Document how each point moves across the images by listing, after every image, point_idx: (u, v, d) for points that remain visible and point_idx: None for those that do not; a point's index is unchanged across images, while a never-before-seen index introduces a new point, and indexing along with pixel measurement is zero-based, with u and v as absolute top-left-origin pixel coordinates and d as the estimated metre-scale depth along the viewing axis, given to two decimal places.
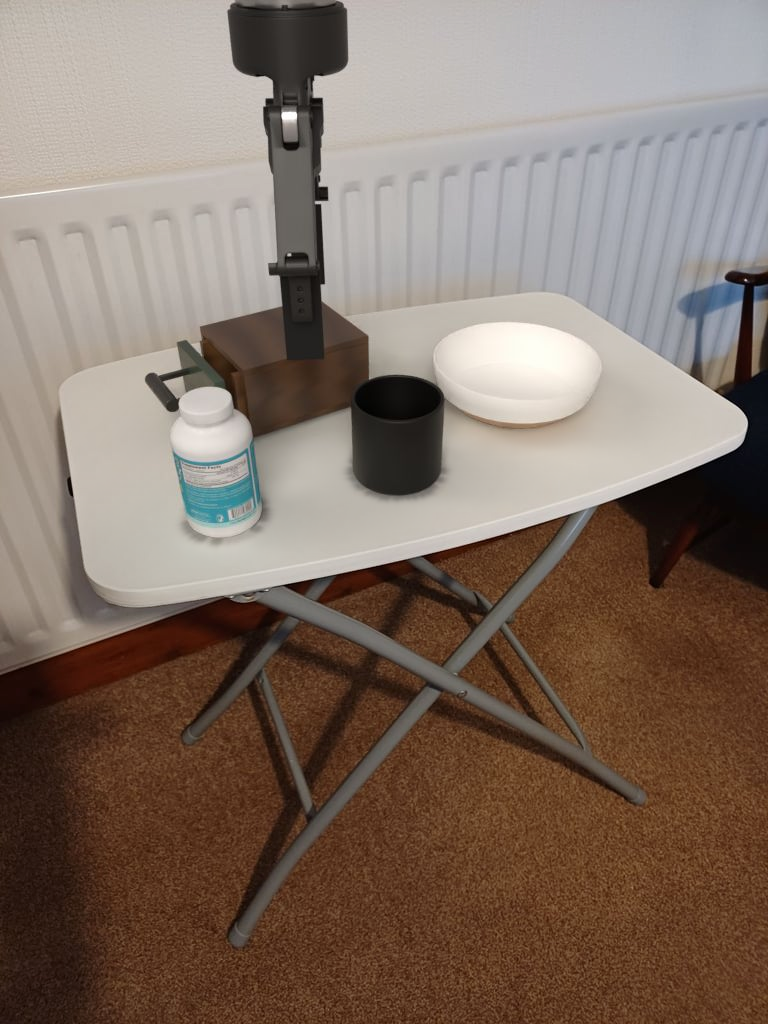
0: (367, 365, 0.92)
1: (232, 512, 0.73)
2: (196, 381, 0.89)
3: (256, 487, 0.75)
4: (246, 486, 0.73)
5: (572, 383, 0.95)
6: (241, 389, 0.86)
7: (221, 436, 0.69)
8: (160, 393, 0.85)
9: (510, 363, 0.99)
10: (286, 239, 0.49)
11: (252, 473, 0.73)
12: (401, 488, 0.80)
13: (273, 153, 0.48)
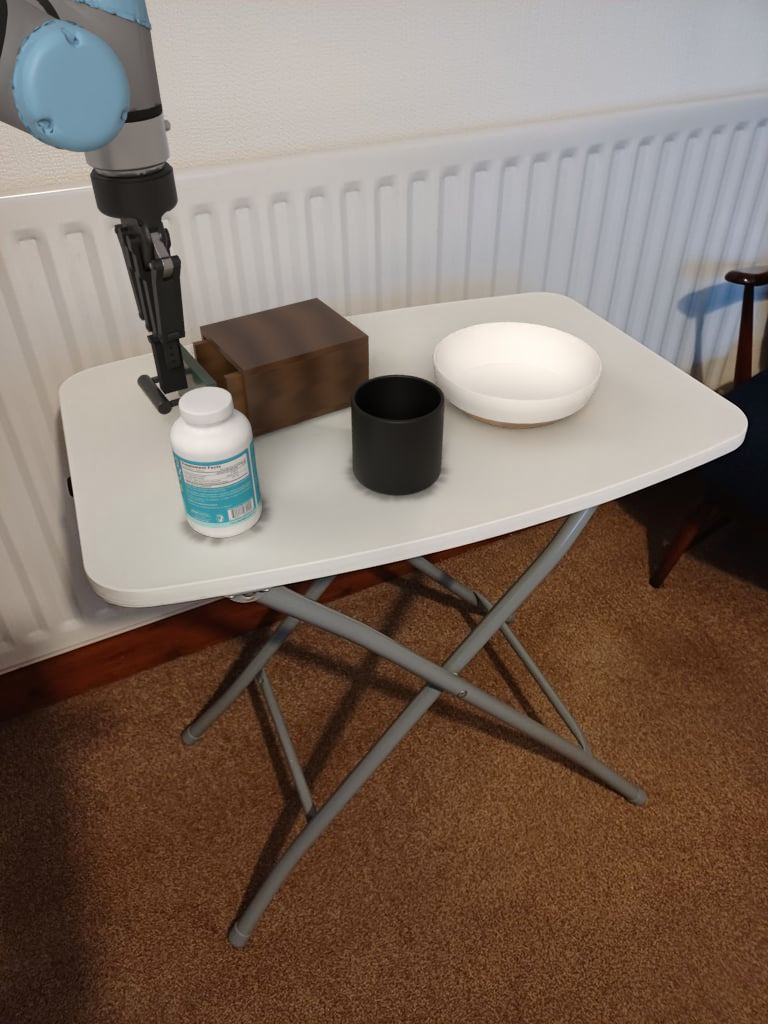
0: (367, 365, 0.92)
1: (232, 512, 0.73)
2: (189, 383, 0.89)
3: (256, 487, 0.75)
4: (246, 486, 0.73)
5: (572, 383, 0.95)
6: (234, 391, 0.86)
7: (221, 436, 0.69)
8: (152, 395, 0.85)
9: (510, 363, 0.99)
10: (167, 326, 0.79)
11: (252, 473, 0.73)
12: (401, 488, 0.80)
13: (157, 285, 0.75)
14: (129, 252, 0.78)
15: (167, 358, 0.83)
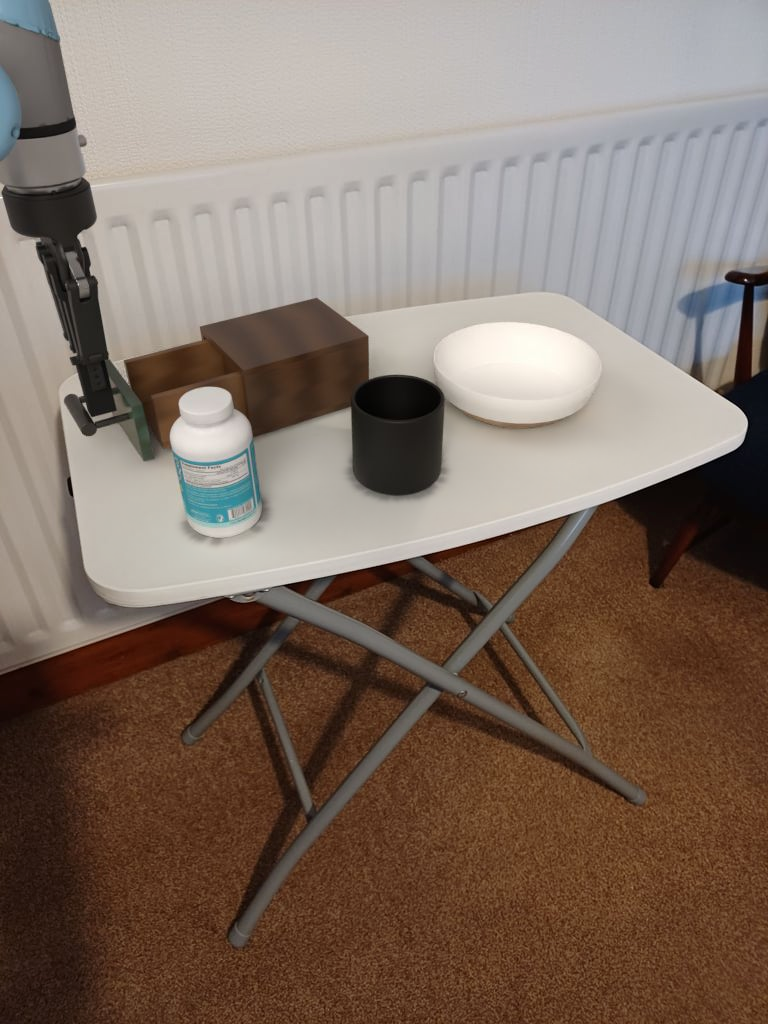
0: (367, 365, 0.92)
1: (232, 512, 0.73)
2: (118, 403, 0.85)
3: (256, 487, 0.75)
4: (246, 486, 0.73)
5: (572, 383, 0.95)
6: (162, 412, 0.83)
7: (221, 436, 0.69)
8: (76, 416, 0.82)
9: (510, 363, 0.99)
10: (88, 348, 0.76)
11: (252, 473, 0.73)
12: (401, 488, 0.80)
13: (73, 306, 0.72)
14: (48, 271, 0.74)
15: (91, 380, 0.80)
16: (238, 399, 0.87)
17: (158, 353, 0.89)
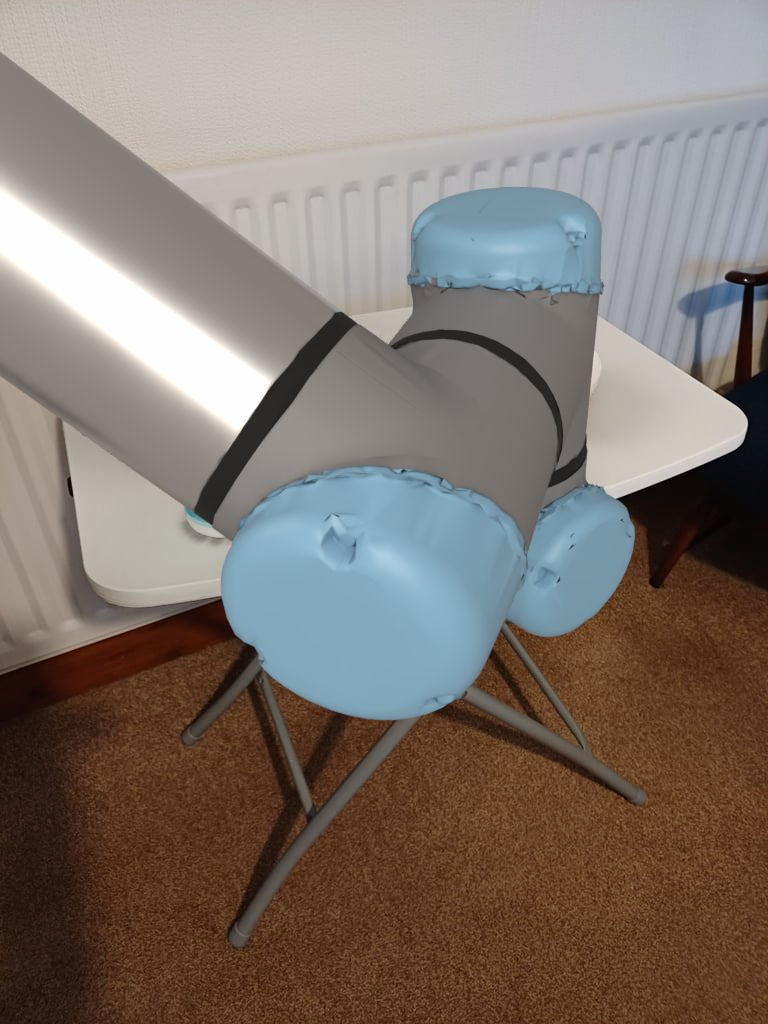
0: None
1: None
2: None
3: None
4: None
5: None
6: None
7: None
8: None
9: None
10: None
11: None
12: None
13: None
14: None
15: None
16: None
17: None
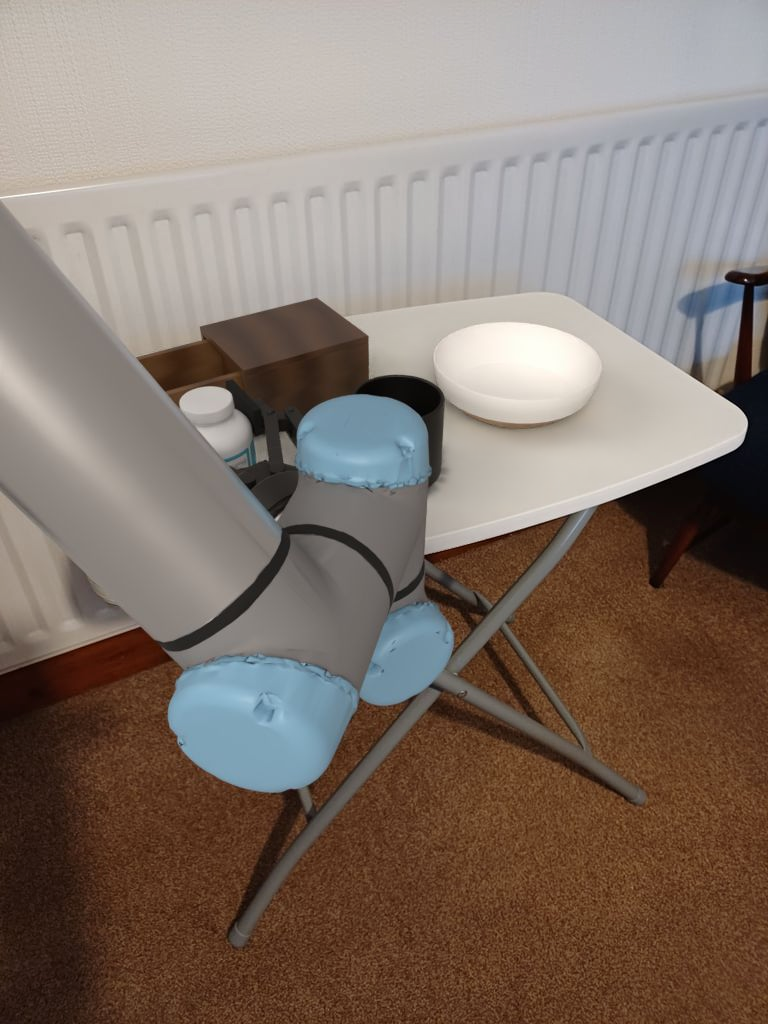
0: (367, 365, 0.92)
1: None
2: None
3: None
4: None
5: (572, 383, 0.95)
6: None
7: (222, 436, 0.69)
8: None
9: (510, 363, 0.99)
10: None
11: None
12: None
13: None
14: None
15: None
16: None
17: (157, 353, 0.89)
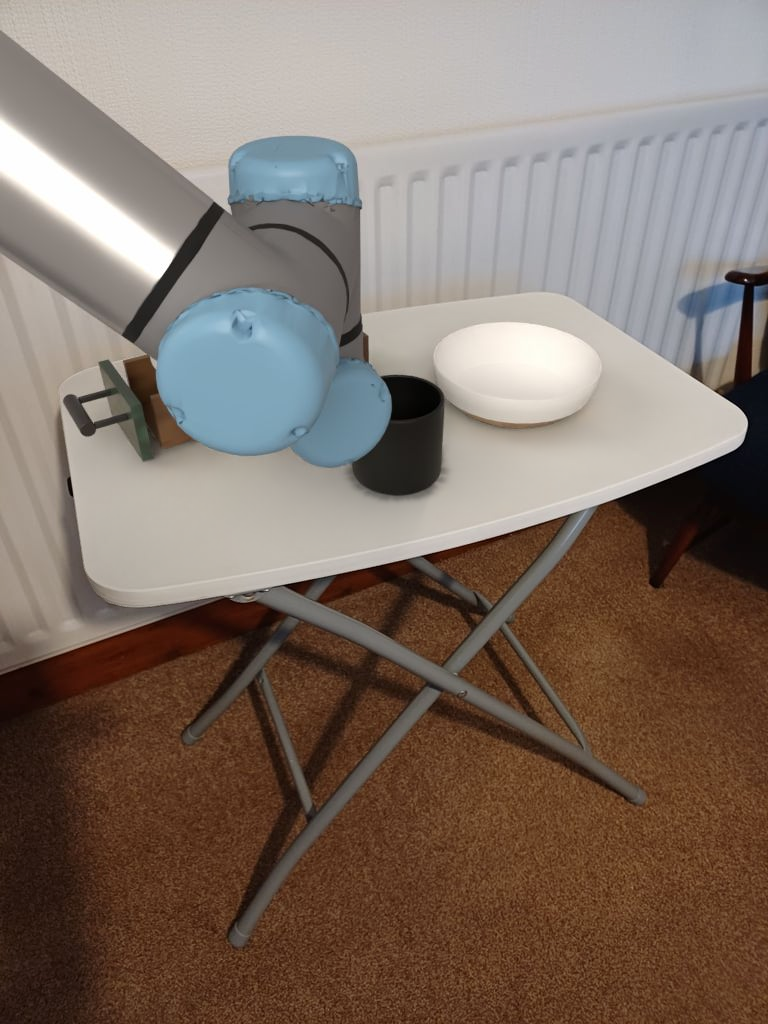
0: None
1: None
2: (117, 403, 0.85)
3: None
4: None
5: (572, 383, 0.95)
6: (162, 412, 0.83)
7: None
8: (75, 416, 0.82)
9: (510, 363, 0.99)
10: None
11: None
12: (401, 488, 0.80)
13: None
14: None
15: None
16: None
17: None
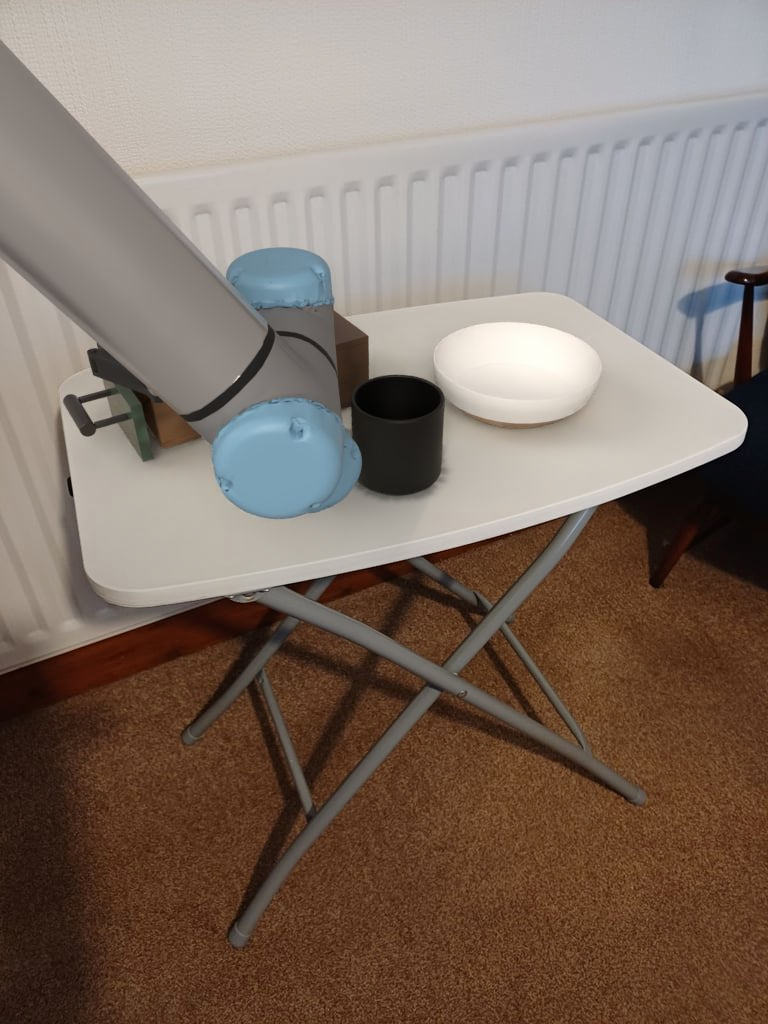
0: (367, 365, 0.92)
1: None
2: (117, 403, 0.85)
3: None
4: None
5: (572, 383, 0.95)
6: (162, 412, 0.83)
7: None
8: (75, 416, 0.82)
9: (510, 363, 0.99)
10: (101, 363, 0.74)
11: None
12: (401, 488, 0.80)
13: None
14: None
15: None
16: None
17: None
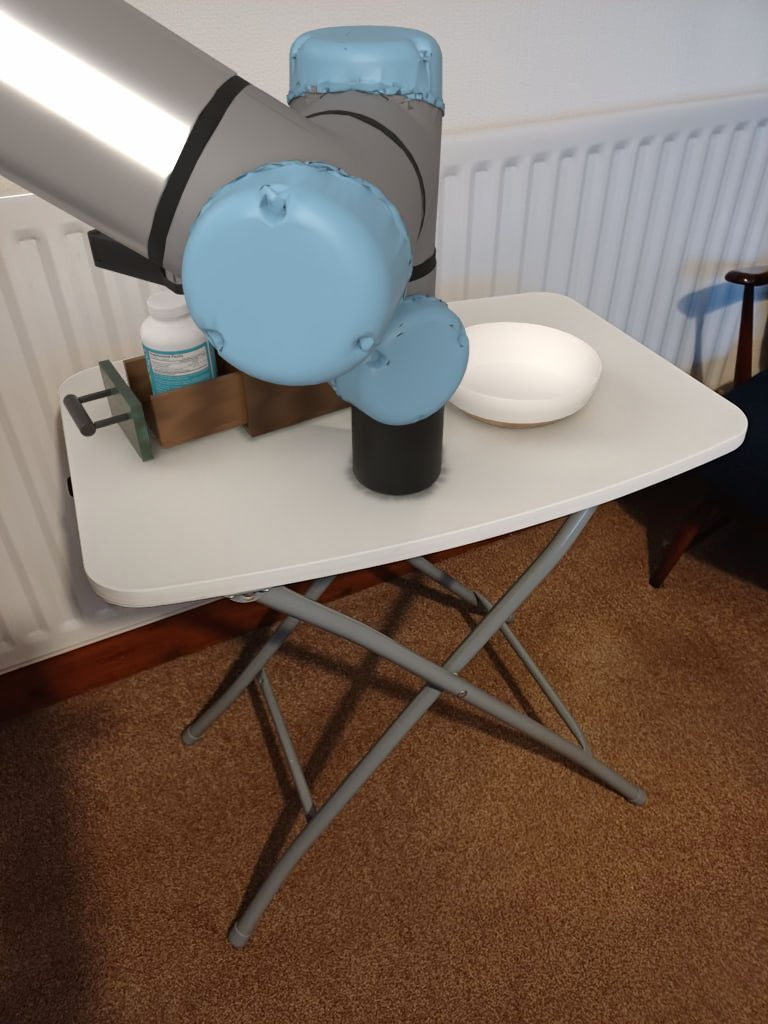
0: None
1: None
2: (117, 403, 0.85)
3: None
4: (205, 377, 0.85)
5: (572, 383, 0.95)
6: (162, 412, 0.83)
7: (183, 329, 0.81)
8: (75, 416, 0.82)
9: (510, 363, 0.99)
10: (106, 247, 0.57)
11: (211, 366, 0.85)
12: (401, 488, 0.80)
13: None
14: None
15: None
16: (237, 399, 0.87)
17: None
